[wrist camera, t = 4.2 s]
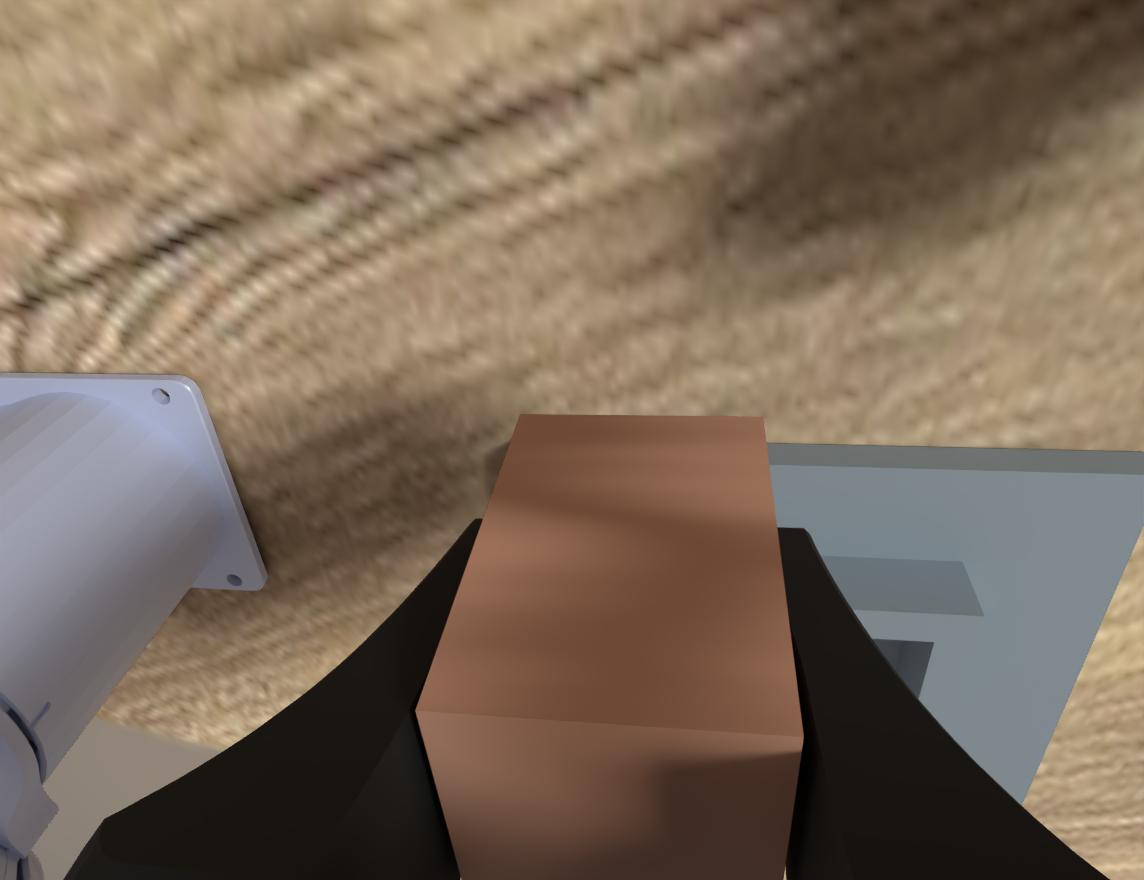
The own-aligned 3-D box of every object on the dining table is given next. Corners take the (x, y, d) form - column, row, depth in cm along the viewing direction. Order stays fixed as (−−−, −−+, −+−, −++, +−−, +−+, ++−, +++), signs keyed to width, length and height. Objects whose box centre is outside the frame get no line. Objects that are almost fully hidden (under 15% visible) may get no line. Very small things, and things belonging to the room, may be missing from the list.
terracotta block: (541, 588, 16) (468, 903, 11) (519, 413, 13) (414, 711, 8) (749, 596, 15) (775, 936, 10) (763, 416, 13) (803, 737, 8)
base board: (555, 748, 30) (542, 824, 27) (519, 437, 22) (497, 503, 20) (1009, 784, 28) (1040, 870, 25) (1146, 451, 20) (1209, 529, 17)
